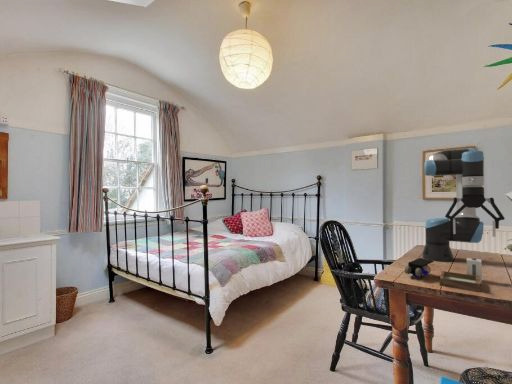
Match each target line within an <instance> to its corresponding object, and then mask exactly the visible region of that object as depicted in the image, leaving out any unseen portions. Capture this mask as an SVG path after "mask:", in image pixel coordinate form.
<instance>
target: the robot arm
mask: <svg viewBox="0 0 512 384" xmlns="http://www.w3.org/2000/svg"><path fill="white" fill-rule="evenodd" d="M484 160H485V157H484V152H483V150H478V148H468V147H467V148H461V149H460V148H459V149H449V150H448V149H447V150H440V151H438V152H434V153H433V154H431V155H430V157H429V158H428V159H427V160H426V161H425V162H424V175H425V176H429V177H430V176H431V177H435V176H455V191H456V196H455V197H454V198H453V202H452V204H451V205H450V207H449V208H448V211H447V212H446V214H445V215H444V217H439V218H437V217H436V218H429V219H426V221H425V227H424V228H425V244H424V247H423V250H422V253H421V255H422V257H421V258H423V259H427V260H432V261H435V262H451V261H454V254H453V252H452V249H451V246H450V242H458V243H468V244H472V243H473V244H477V243H480V242H481V241H482V239H483V235H484V228H485V227H484V221H481V220H480V217H479V216H477V209H479V208H481V209H482V210H484V212H486V214H488V215H489V216H490V217H491V218H492V219H493V220H492V222H491V225H492V237H493V238H496V229H500V221H505V220H506V219H505V217H504V215H503V213H502V212H501V210H500V209H499V207H498V205H497V204H496V203H495V199H494V197H488V198H487V197H486V198H485V187H483V186H485V173H484V170H485V169H484V168H485V167H484V166H485V164H484V163H485V162H484ZM485 202H487V203H488V204H490V205H491V207H492V208H493V210H494V212H495V213H496V214H497V215H498V217H497V216H496V215H495V214H494V213H492V211H490V210H489V209H488V208H487V206H485V205H484V203H485ZM455 207H456V210H455V212H454V213H453V214H452V215H451V213H452V212H453V210H454V208H455Z"/></svg>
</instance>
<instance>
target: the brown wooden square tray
mask: <svg viewBox="0 0 512 384" xmlns="http://www.w3.org/2000/svg"><path fill="white" fill-rule="evenodd" d="M439 286H440V287H446V288H447V287H448V288H454V289H460V290H466V291H471V292H477V293H480V292H481V283H480V281H479V276H475V275H468V274H467V273H460V272H451V271H445V270H441V273H440V277H439Z"/></svg>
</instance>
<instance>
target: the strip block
mask: <svg viewBox="0 0 512 384" xmlns="http://www.w3.org/2000/svg"><path fill="white" fill-rule="evenodd" d="M482 263H483V262H482V259H481V258H475V257H472V258H471V257H467V258H466V274H468V275H475V276H479V281H480V284H482V283H483V279H482V269H483V267H482Z"/></svg>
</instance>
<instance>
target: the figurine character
mask: <svg viewBox="0 0 512 384" xmlns="http://www.w3.org/2000/svg"><path fill="white" fill-rule="evenodd" d="M432 263H434V260H430V259H426V258H423V257H418V258H416V259H414V260H412V261H409V262H408V263H407V265H406V266H405V268H404V273H405V274H406V275H407V274H408V275H411V276H409V278H410V279H412V278H416V280H419V279H421V277H424V276H428V275H429V274H431V267H430V264H432Z"/></svg>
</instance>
